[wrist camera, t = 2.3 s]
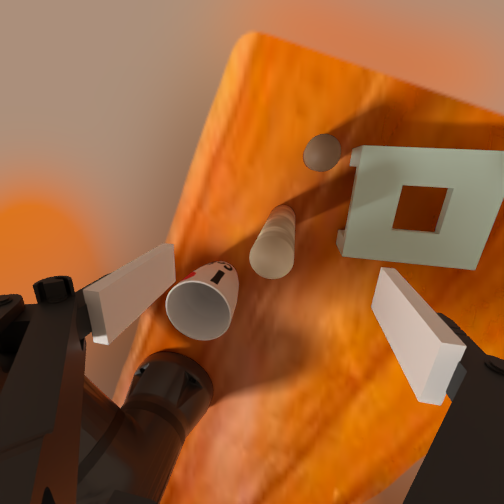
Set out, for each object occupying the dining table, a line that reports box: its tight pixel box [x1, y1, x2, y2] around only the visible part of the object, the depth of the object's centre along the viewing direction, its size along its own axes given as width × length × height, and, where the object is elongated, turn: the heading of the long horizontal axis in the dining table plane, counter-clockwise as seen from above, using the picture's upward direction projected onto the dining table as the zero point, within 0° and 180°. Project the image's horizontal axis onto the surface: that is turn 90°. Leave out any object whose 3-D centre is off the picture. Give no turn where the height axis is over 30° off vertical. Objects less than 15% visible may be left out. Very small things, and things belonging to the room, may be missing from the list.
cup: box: [166, 261, 239, 340], centre depth 33 cm, size 8×8×10 cm
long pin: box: [249, 205, 295, 279], centre depth 26 cm, size 3×3×16 cm
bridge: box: [336, 145, 504, 270], centre depth 28 cm, size 14×12×5 cm
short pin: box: [303, 134, 341, 172], centre depth 27 cm, size 3×3×7 cm
